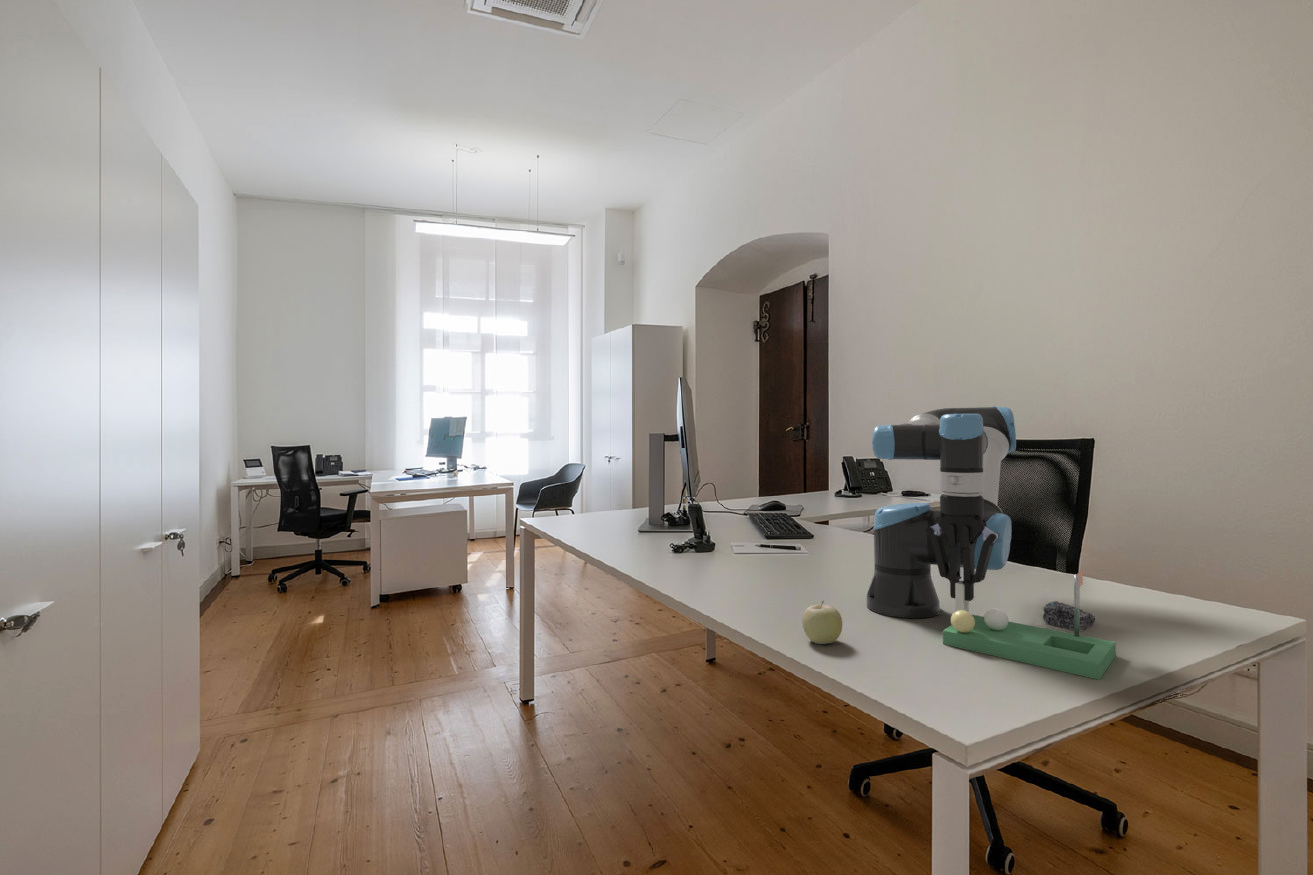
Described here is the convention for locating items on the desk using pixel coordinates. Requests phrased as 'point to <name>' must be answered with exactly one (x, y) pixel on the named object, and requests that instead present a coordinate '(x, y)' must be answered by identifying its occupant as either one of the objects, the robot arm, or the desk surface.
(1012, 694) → the desk surface
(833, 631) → the fruit
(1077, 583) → the pin
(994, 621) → the ball
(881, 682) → the desk surface
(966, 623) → the ball
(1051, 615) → the rock
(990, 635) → the green board with hole
